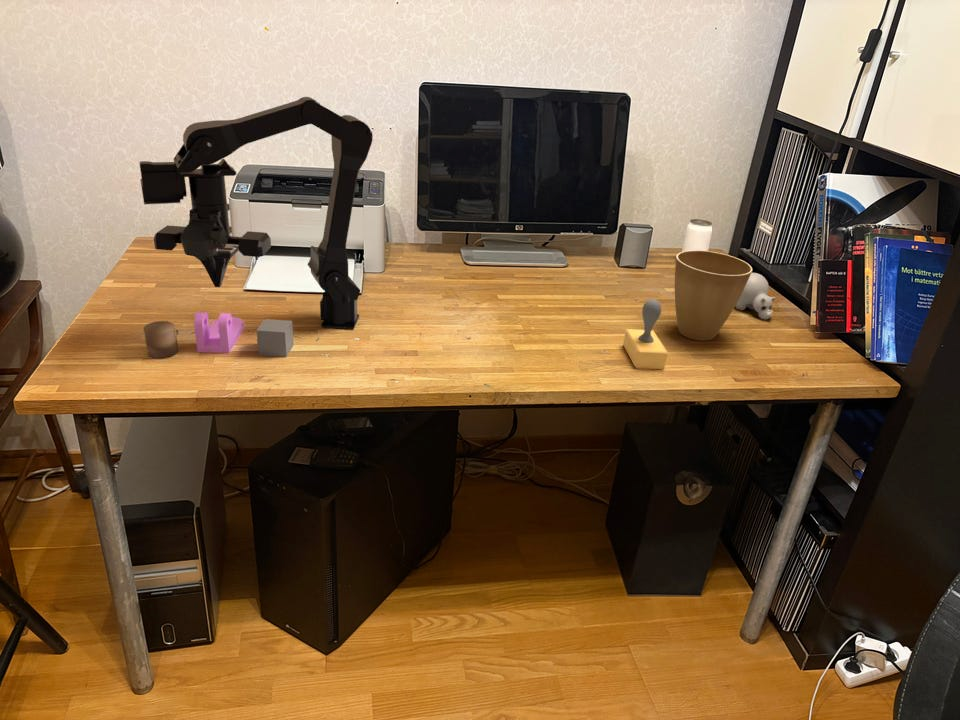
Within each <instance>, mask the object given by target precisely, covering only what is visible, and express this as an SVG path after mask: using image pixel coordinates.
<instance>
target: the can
mask: <svg viewBox="0 0 960 720" xmlns="http://www.w3.org/2000/svg"><path fill="white" fill-rule="evenodd" d="M712 226H713V223H712V222H711V221H709V220H706V219H699V218H691V219H690V220H689V223H688V224H687V226H686V230H685V235H684V240H683V245H682V250H681V252H683V251H694V250H699V251H709V248H710V242H711V240H712V239H711V238H712V234H713V227H712Z"/></svg>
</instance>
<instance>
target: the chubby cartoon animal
mask: <svg viewBox="0 0 960 720" xmlns="http://www.w3.org/2000/svg"><path fill="white" fill-rule="evenodd" d="M769 288H770V287H769V282H768V280H767V279H766V278H765V276H763V275H762V274H760V273H757V272H751V275H750V277H749V279H748V281H747V284H746V286H745V288H744V290H743V292H742V294H741V296H740V298H739V300H738V302H737V304H736V305H735V307H734V308H736V309H737V310H740V311H744V310H746V308H748V309H751V310H755V311H756V312H757V313H758V317H759V318H760V319H762V320H763V321H765V320H769V319H770V318H771V317H772V314H773V312H774V311H773V310H772V308H773V306H774V305H773V304H774V301H775V300H776V299H777V297H776V296H769V295H768V293H769V290H770V289H769Z"/></svg>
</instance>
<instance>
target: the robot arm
mask: <svg viewBox="0 0 960 720" xmlns="http://www.w3.org/2000/svg"><path fill="white" fill-rule="evenodd" d="M307 125H312V126H315V128H318V129H320V130H321V131H324V132H325V133H327V134H328V135H330V137H331V152H332V159H333V171H332V178H331V184H330V190H329V191H330V192H329V196H328V197H329V199H328V204H327V210H326V216H325V224H324V229H323V230H324V231H323V236H322V239H321V242H320V243H319V245H318V246H314V245H311V246H310V259H309V260H308V263H307V266H308V268H309V269H310V273H311V275H312V277H313V278H314V280H315V281H316V283H317V284H318V286H319V287H320V288H321V290H323V293H322V298H321V300H320V301H319V310H320V311H319V312H320V314H319V315H320V320H321V325H320V326H321V327H322V328H333V329H347V330H354V329H355V328H356V325H357V323H358V320H359V318H360V314H359V313H358V299H359V296H360V293H361V289H360V288H359V286H357V284H356V283H355V282H354V281H353V279H352V278H351V277H350V275H349V259H348V253H347V242H348V235H349V228H350V223H351V216H352V212H353V206H354V205H353V204H354V201H355V193H356V189H357V188H356V187H357V183H358V182H357V180H358V175H359V172H360V171H361V168H362V166H363V165H364V163H365V162H366V160H367V157H368V155H369V152H370V150H371V147H372V144H373V132H372V130H371V128H370V126H369V125H368V124H366V123H365V122H364V121H362V120H360V119H359V118H357V117H355V116H352V114H351V115H349V114H344V115H339V114H337V113H336V112H334V111H332V110H330V109H329V108H327V107H325V106H324V105H321V103H320V102H319V101H317V100H316V99H314V98H312V97H310V96H302V97H300V98H299V99H297V100H295V101H291V102H287V103H284V104H281V105H277V106H275V107H271V108H267V109H264V110H262V111H258V112H255V113H252V114H248V115H245V116H243V117H242V116H241V117H239V118H235V119H228V120H227V119H223V120H218V119H217V120H208V121H207V120H206V121H199V122H194V123H192V124H189V125H188V126H187V127H186V128H185V130H184V132H183V134H182V135H183V136H182V142H183V144H182V146H181V147H180V148H179V150H178V152H177V153H176V154H175V156H174V157H173V159H172V160H173V161H161V162H160V161H158V162H157V161H149V160H147V161H146V160H145V161H144V160H143V161H139V170H140V186H141V194H142V201H143V204H144V206H145V205H162V204H163V205H165V204H181V200H184V199H185V197H186V198H187V195H188V192H187V186H186V184H187V183H186V179H185V178H188V185H189V193H190V200H191V203H190V204H191V209H190V210H189V214H188V217H189V219H188V224H186V226H181V225H179V226H178V225H177V226H176V225H166V226H164V227H162V229H159V231H157V232H156V233H155V234H154V236H153V245H154V249H155V250H158V251H159V250H160V251H170V252H171V251H173V250H174V249H175V248H177V246H178V245H177V244H179V245H180V244H181V246H182V249H183V252H184V255H186V256H190V257H195V258H196V260H199V261H200V263H201V264H202V265H203V267H204V269H205V271H206V272H207V274H208V276H209V278H210V281H211V282H212V284H213V286H214V287H215V288H220V287H221V286H222V285H223V282H224V278H225V275H226V271H227V268H228V266H229V263H230V260H231V259H232V257H234V256H235V255H236V254H237V253H238V252H239V253H240V254H241V255H242V256H244V257H253V258H255V257H257V258H259V257H263V256H265V255H266V253H267V252H268V251H269V250H270V249H271V247H272V244H271V243H272V242H271V241H272V240H271V237H270V235H269V234H268V233H267V232H261V231H260V232H259V231H246V232H245V233H244V234H243V235H242V236H234V235H233V236H231V234H232V233H233V227H232V226H230V221H229V211H230V210H231V207H230V203H228V199H227V189H226V181H225V180H226V179H225V177H230V176H231V177H232V176H233V177H235V176H236V175H237V171H236V170H235V168H234V167H233V166H231V165H230V164H229V163H228V162H227V160H226V159H225V158H227V157H228V156H231V154H233V153H234V152H236V151H238V150H239V149H240V148H241V147H243V146H246V145H248V144H250V143H254V142H256V141H260V140H263V139H266V138H270V137H272V136H276V135H279V134H282V133H285V132H288V131H292V130H295V129H297V128H301V127H305V126H307ZM217 162H218V163H217Z"/></svg>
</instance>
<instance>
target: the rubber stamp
mask: <svg viewBox="0 0 960 720" xmlns="http://www.w3.org/2000/svg"><path fill="white" fill-rule="evenodd" d="M661 313H662V305H661V303H660V302H659V301H658V300H656V299H653V298H652V299H648V300H646V301H645V302H644V304H643V306H642V321H643V326H644V329H631V328H630V329H628V328H627V329H626V330H625V331H624V338H623V343H622V345H623V347H624V349H625V351H626V352H627V355H628V356H629V358H630V360H631V361H632V362H631V363H632V364H633V367H635V368H636V369H642V370H643V369H646V370H647V369H648V370H664V369H665V367H666V363H667V358H668V351H667V349H666V348H665V346H664V345H663V343H662V342H661V340H660V339H659V336H657V334H656V333H655V331H654V329H653V327H654V326H655V324H656V323H657V322H658V320H659V318H660V315H661Z"/></svg>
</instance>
